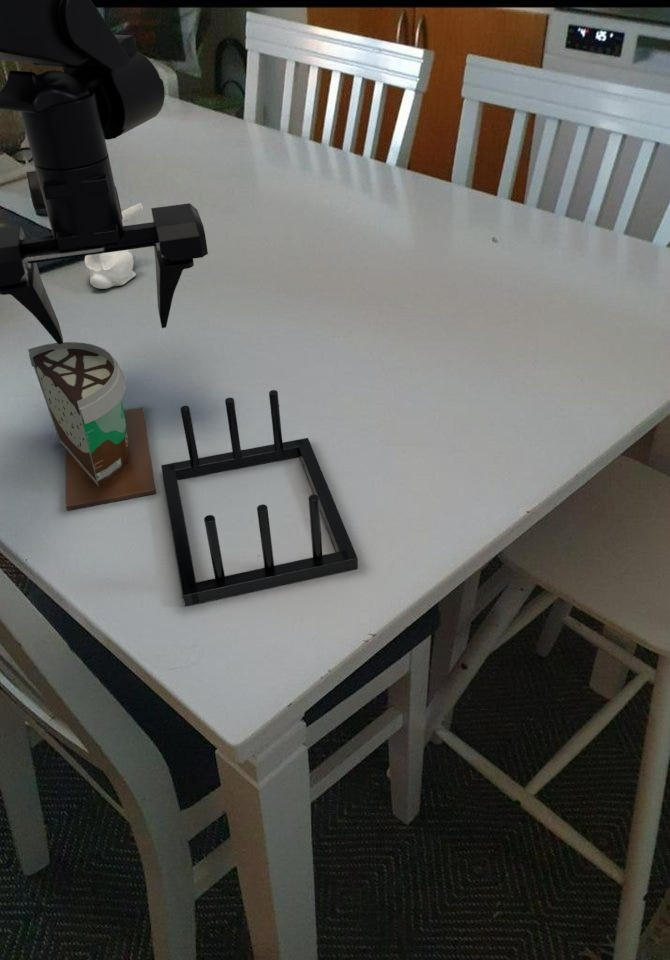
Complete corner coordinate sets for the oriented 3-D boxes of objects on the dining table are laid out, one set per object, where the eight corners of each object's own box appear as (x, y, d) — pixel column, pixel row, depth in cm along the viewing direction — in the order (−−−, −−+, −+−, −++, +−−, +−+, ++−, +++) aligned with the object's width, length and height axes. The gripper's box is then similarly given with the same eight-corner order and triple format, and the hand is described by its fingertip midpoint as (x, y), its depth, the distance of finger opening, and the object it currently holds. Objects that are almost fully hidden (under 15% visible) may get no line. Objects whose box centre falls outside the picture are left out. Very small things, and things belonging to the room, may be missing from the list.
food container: (165, 468, 77) (146, 378, 70) (105, 495, 74) (79, 404, 67) (109, 411, 84) (87, 325, 78) (53, 433, 82) (25, 347, 75)
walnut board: (67, 510, 73) (65, 506, 73) (65, 424, 84) (64, 420, 83) (156, 493, 75) (155, 489, 74) (143, 410, 85) (142, 407, 85)
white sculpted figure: (116, 255, 116) (101, 187, 110) (165, 258, 114) (153, 190, 108) (77, 293, 107) (59, 222, 101) (130, 297, 105) (115, 225, 99)
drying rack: (185, 606, 64) (169, 535, 59) (163, 474, 77) (148, 407, 72) (358, 568, 66) (356, 497, 61) (308, 447, 79) (304, 380, 74)
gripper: (178, 116, 71) (202, 281, 81) (-44, 141, 68) (10, 309, 78) (194, 156, 63) (219, 333, 73) (-58, 186, 60) (4, 368, 69)
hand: (112, 333), depth 73 cm, fingers open, 9 cm apart
